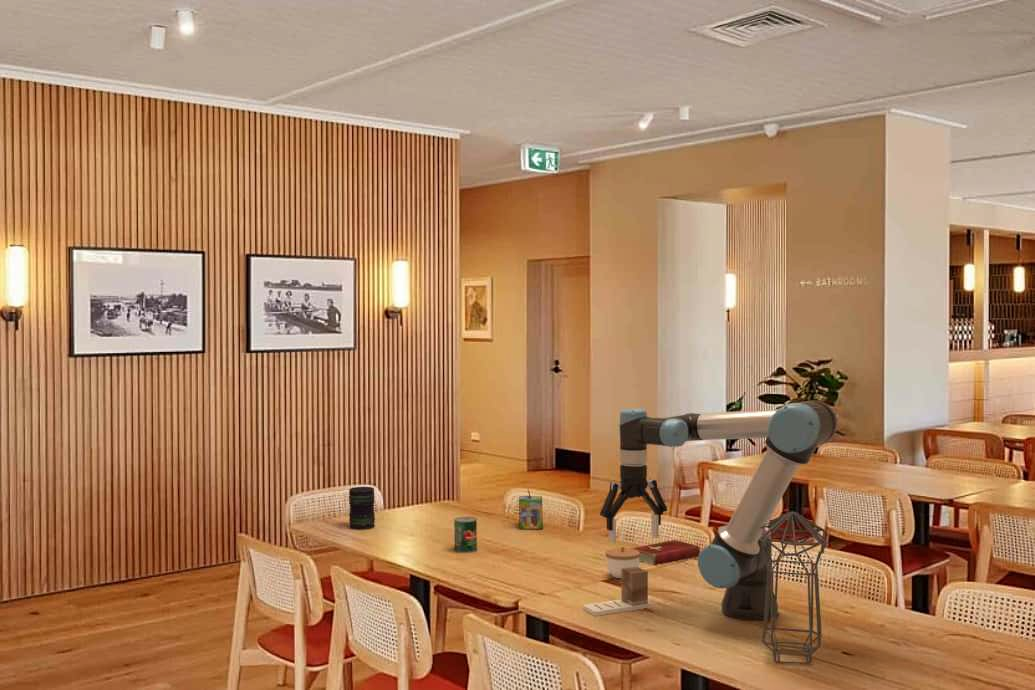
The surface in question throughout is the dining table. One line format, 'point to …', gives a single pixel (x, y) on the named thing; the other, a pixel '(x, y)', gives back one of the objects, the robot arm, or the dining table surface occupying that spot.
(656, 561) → the hardcover book
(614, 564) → the lidded jar
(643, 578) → the eraser block
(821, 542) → the geometric lantern
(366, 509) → the storage jar
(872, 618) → the dining table surface
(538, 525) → the green juice box
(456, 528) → the canned tomato
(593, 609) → the board
